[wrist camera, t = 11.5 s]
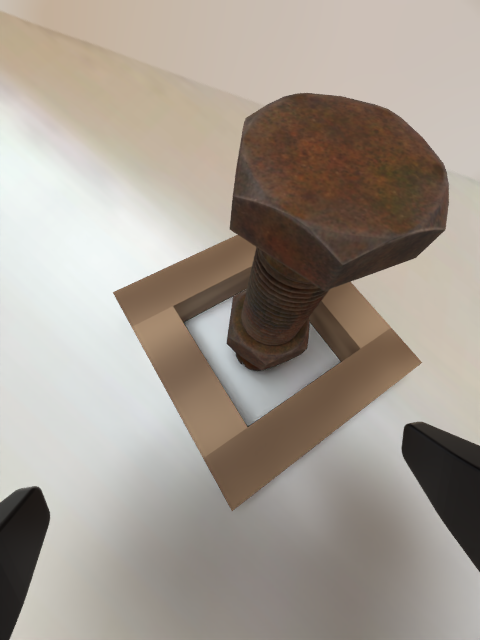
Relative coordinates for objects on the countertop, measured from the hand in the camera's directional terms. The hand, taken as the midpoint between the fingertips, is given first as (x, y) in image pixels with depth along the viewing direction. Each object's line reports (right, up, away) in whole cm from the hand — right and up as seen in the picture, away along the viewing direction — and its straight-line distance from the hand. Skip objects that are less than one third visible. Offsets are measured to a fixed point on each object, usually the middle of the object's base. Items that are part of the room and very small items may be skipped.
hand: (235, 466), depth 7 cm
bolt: (+1, +1, +14) cm, 14 cm away
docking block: (+2, +2, +14) cm, 14 cm away
